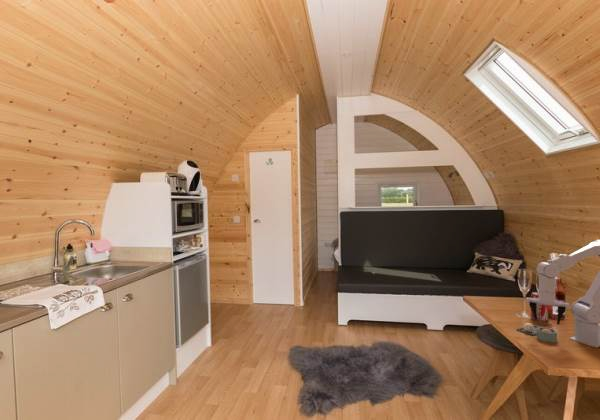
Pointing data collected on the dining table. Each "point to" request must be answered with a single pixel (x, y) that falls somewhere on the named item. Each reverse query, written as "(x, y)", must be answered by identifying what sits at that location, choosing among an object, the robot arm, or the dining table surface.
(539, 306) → the soda can
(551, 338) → the teal tube
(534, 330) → the slate tray
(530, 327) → the ball cream
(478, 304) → the dining table surface
